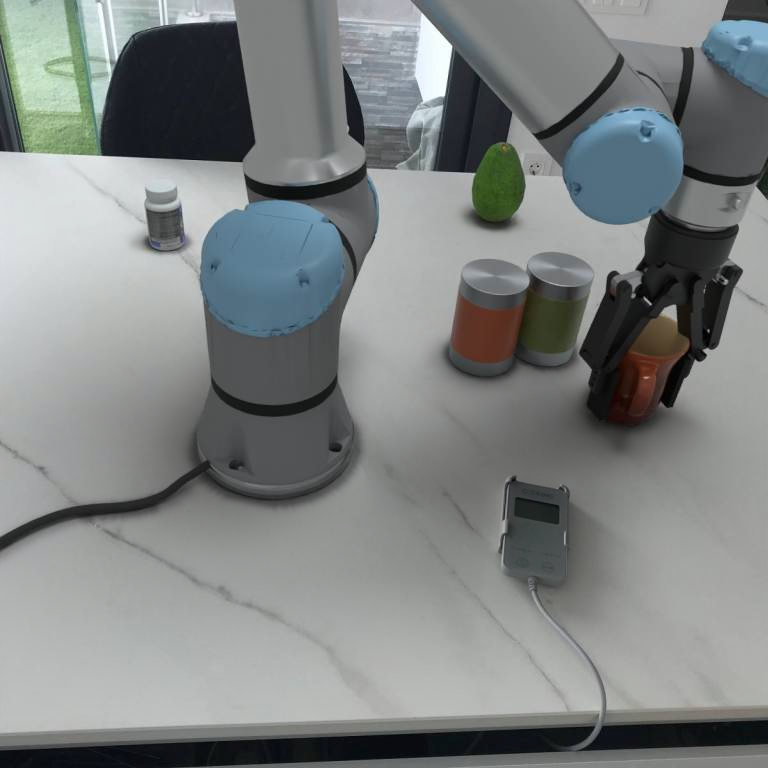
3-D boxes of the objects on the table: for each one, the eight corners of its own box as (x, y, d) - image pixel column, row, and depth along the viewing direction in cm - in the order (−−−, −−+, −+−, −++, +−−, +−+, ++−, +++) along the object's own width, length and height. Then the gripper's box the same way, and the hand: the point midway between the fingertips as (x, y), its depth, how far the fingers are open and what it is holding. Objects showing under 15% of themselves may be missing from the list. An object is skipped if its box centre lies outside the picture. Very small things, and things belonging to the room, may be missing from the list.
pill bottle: (191, 246, 105) (185, 189, 100) (157, 254, 103) (150, 196, 98) (177, 231, 108) (171, 174, 103) (144, 238, 106) (136, 181, 101)
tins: (463, 381, 87) (477, 298, 80) (438, 342, 92) (450, 262, 85) (583, 362, 91) (607, 282, 84) (554, 326, 97) (574, 248, 90)
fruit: (456, 218, 117) (467, 141, 110) (486, 202, 122) (499, 128, 115) (499, 237, 114) (514, 159, 106) (528, 220, 118) (544, 145, 111)
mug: (580, 376, 89) (602, 301, 83) (657, 390, 88) (686, 315, 82) (579, 446, 80) (604, 368, 73) (665, 462, 79) (698, 385, 72)
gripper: (620, 246, 63) (561, 446, 78) (819, 222, 69) (730, 413, 84) (575, 204, 69) (528, 399, 83) (763, 185, 74) (688, 370, 89)
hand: (629, 406), depth 83 cm, fingers closed on mug, 8 cm apart
